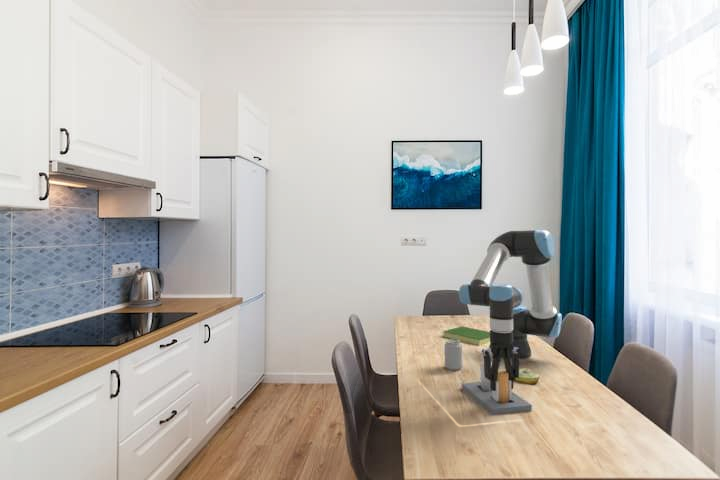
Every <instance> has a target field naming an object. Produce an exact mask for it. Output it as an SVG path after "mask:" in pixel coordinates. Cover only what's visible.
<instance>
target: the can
mask: <svg viewBox="0 0 720 480" xmlns="http://www.w3.org/2000/svg"><path fill="white" fill-rule="evenodd" d="M444 367H445V368H446V369H447V370H449V371H459V370H461V369H462V368H463V345H462V344H461V341H458V340H454V339H447V340H446V341H445V343H444Z"/></svg>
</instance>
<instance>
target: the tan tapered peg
mask: <svg viewBox="0 0 720 480" xmlns="http://www.w3.org/2000/svg"><path fill="white" fill-rule="evenodd" d="M496 381H498V382H499V401H496V400H495V401H496V402H497V403H498V404H502V403H509V373H508V372H506V370H501V369H498V374H497V380H496Z"/></svg>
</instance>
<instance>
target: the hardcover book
mask: <svg viewBox="0 0 720 480" xmlns="http://www.w3.org/2000/svg"><path fill="white" fill-rule="evenodd" d="M442 333H443V336H444V337H443V336H442V337H443V338H446V337H448V338H447V339H450V338H452V339H451V340H454V339H456V340H459V341H460V342H462V341H464V342H463V343H466V344H467V343H468V344H471V343H472V344H471V345H475V344H476V345H475V346H479V345H480V346H482V344H483V345H485V343H486V344H488V342H489V343H490V331H486V330H482V329H476V328H471V327H467V326H459V327H454V328H450V329H446V330H443V331H442Z"/></svg>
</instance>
